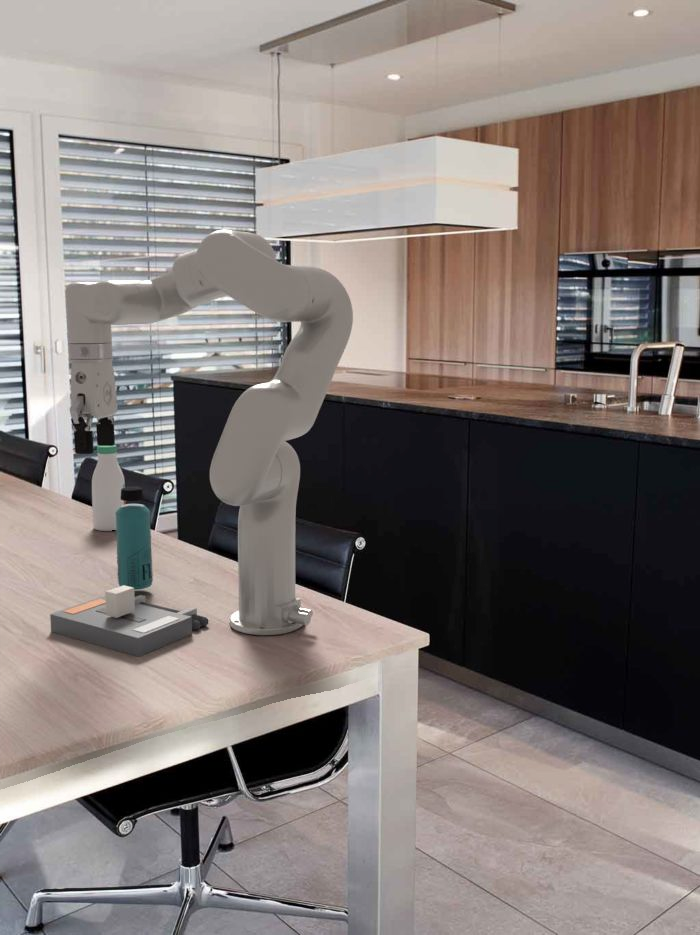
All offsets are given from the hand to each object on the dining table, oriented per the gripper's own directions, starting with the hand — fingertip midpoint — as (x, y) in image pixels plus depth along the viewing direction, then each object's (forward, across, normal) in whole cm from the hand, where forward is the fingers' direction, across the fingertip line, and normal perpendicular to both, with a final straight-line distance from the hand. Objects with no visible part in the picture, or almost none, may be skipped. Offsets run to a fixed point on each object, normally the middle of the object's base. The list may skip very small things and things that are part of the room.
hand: (95, 449), depth 170 cm
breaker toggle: (+24, -18, -11) cm, 32 cm away
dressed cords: (+28, -10, -14) cm, 33 cm away
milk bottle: (+27, +51, +19) cm, 61 cm away
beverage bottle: (+28, +3, -5) cm, 28 cm away
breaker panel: (+28, -18, -10) cm, 35 cm away
